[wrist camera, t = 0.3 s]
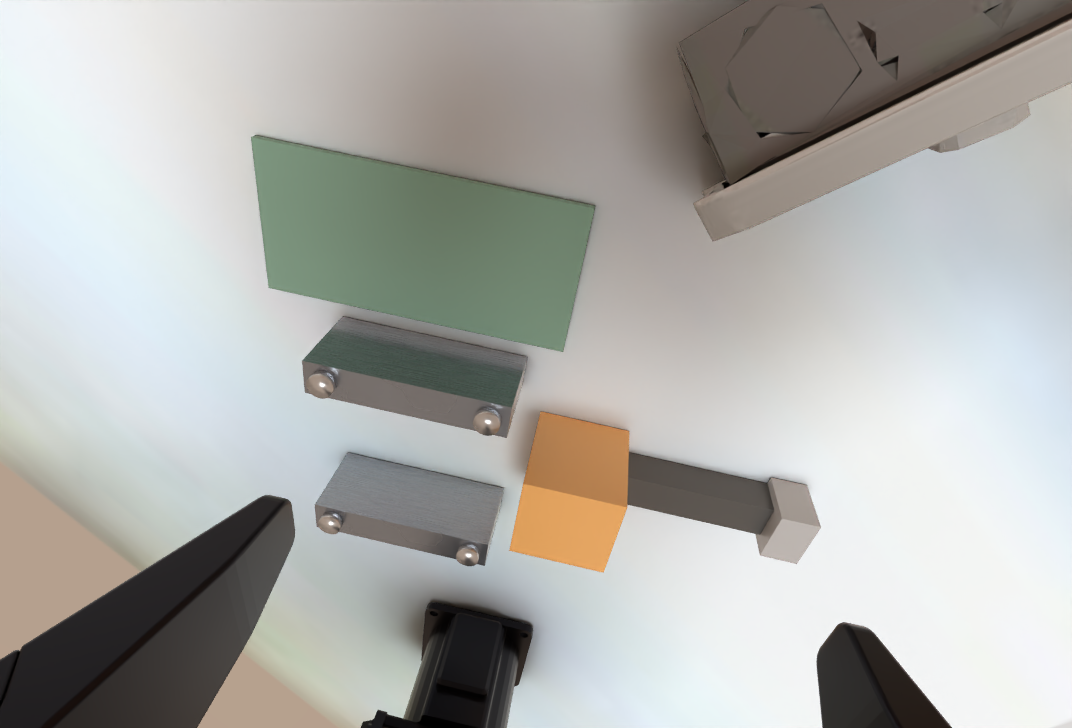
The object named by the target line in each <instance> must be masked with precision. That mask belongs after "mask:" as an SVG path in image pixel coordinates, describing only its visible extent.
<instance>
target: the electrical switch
mask: <svg viewBox="0 0 1072 728" xmlns="http://www.w3.org/2000/svg"><path fill="white" fill-rule="evenodd" d="M808 7H811V8H808ZM746 28H748V29H747V31H746V33H745V35H744V37H743V34H744V30H745V29H746ZM870 36H871V39H870V44H868V41H869V38H870ZM679 44H680V46H681V49H682V52H683V54H684V57H685V59H686V62H687V64H688V67H689V70H690V71H689V70H688V68H687V66H686V64H685V62H684V60H683V58H682V57H681V55H680V53H679V51H678V49H677V51H678V55H679V58H680V62H681V65H682V69H683V72H684V75H685V79H686V81H687V84H688V87H689V89H690V92H691V95H692V98H693V102H694V105H695V107H696V110H697V112H698V115H699V117H700V119H701V122H702V124H703V127H704V129H705V132H706V133H705V134H704V135H703V137H704V139H705V140H706V141H707V142H708V143H709V145H710V146H711V148H712V150H713V152H714V154H715V156H716V159H717V161H718V163H719V165H720V168H721V170H722V172H723V175H724V177H725V180H723V181H721V182H719V183H717V184H715V185H713V186H712V187H710V188H708V189H706V190H704V191H702V195H704V198H702V199H700V200H699V201H697V202H695V203H693V204H694V207H695V209H696V211H697V213H698V215H699V217H700V219H701V220H702V222H703V224H704V226H705V228H706V230H707V232H708V234H709V235H710V237H711V239H712V241H715V240H718V239H721V238H724V237H727V236H730V235H733V234H735V233H738V232H741V231H744V230H747V229H749V228H752V227H754V226H756V225H759V224H761V223H763V222H765V221H767V220H770V219H772V218H774V217H776V216H778V215H781V214H783V213H785V212H787V211H790V210H792V209H794V208H796V207H798V206H801V205H803V204H805V203H807V202H809V201H812V200H814V199H816V198H818V197H820V196H823V195H825V194H827V193H829V192H831V191H834V190H836V189H838V188H840V187H843V186H845V185H847V184H849V183H851V182H854V181H856V180H858V179H860V178H862V177H865V176H867V175H869V174H871V173H873V172H876V171H878V170H880V169H882V168H885V167H887V166H889V165H891V164H893V163H896V162H898V161H900V160H902V159H904V158H907V157H909V156H911V155H913V154H915V153H918V152H920V151H922V150H924V149H927V148H929V149H931V150H934V151H937V152H939V153H942V152H948V151H953V150H959V149H961V148H964V147H966V146H969V145H971V144H974V143H976V142H979V141H981V140H984V139H986V138H989V137H991V136H993V135H996V134H998V133H1001V132H1003V131H1006V130H1008V129H1011V128H1013V127H1015V126H1016V125H1017V124H1019V123H1020V122H1021V121H1023V120H1024V119H1025V118H1027V117H1028V116H1029V115H1030V110H1029V106H1028V102H1030V101H1033V100H1035V99H1037V98H1039V97H1041V96H1044V95H1046V94H1048V93H1050V92H1052V91H1055V90H1057V89H1059V88H1061V87H1063V86H1066V85H1068V84H1070V83H1072V0H748V1H747V2H745V3H743V4H742V5H740V6H738V7H737V8H735V9H734V10H732V11H730V12H729V13H727V14H725V15H724V16H722V17H720V18H719V19H717V20H715V21H714V22H712V23H711V24H709V25H707V26H706V27H704V28H702V29H701V30H699V31H697V32H696V33H694V34H692V35H691V36H689V37H688V38H686V39H684V40H683V41H681V42H679ZM869 45H870V46H869ZM870 47H871V48H872V49H870ZM676 48H677V47H676ZM690 72H691V73H690ZM691 75H692V76H691ZM692 77H693V78H692Z"/></svg>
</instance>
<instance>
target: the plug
mask: <svg viewBox="0 0 1072 728" xmlns="http://www.w3.org/2000/svg"><path fill="white" fill-rule="evenodd" d="M627 504H628V505H632V506H636V507H641V508H645V509H649V510H654V511H658V512H663V513H667V514H671V515H676V516H680V517H684V518H689V519H693V520H698V521H702V522H706V523H711V524H715V525H719V526H724V527H728V528H733V529H737V530H741V531H746V532H750V533H754V534H756V539H757V544H758V548H759V553H760V556H765V557H769V558H774V559H778V560H782V561H787V562H791V563H795V564H797V563H798V561H799V560H800V558H801V557H802V555H803V554H804V552H805V551H806V549H807V548H808V546H809V545H810V543H811V542H812V540H813V539H814V537H815V536H816V534H817V533H818V531H819V530H820V528H821V526H820V523H819V520H818V517H817V514H816V511H815V508H814V505H813V502H812V499H811V496H810V493H809V490H808V487H807V485H803V484H799V483H794V482H790V481H785V480H781V479H776V478H772V477H771V478H770V480H769V482H768V484H767V483H763V482H758V481H754V480H749V479H745V478H741V477H736V476H732V475H727V474H723V473H718V472H714V471H709V470H705V469H701V468H696V467H692V466H687V465H683V464H678V463H674V462H669V461H665V460H661V459H656V458H652V457H647V456H643V455H638V454H634V453H629V431H627V430H622V429H618V428H613V427H609V426H604V425H600V424H595V423H591V422H586V421H582V420H577V419H573V418H568V417H564V416H559V415H555V414H550V413H546V412H540V416H539V420H538V424H537V429H536V433H535V437H534V441H533V445H532V449H531V454H530V458H529V462H528V466H527V470H526V474H525V479H524V483H523V487H522V492H521V497H520V502H519V507H518V512H517V516H516V521H515V526H514V531H513V536H512V541H511V546H510V550H509V551H514V552H518V553H522V554H526V555H531V556H535V557H539V558H543V559H548V560H552V561H556V562H561V563H565V564H569V565H573V566H578V567H582V568H586V569H591V570H595V571H599V572H603V573H604V570H605V567H606V564H607V562H608V559H609V556H610V553H611V551H612V548H613V545H614V542H615V540H616V537H617V534H618V531H619V529H620V526H621V523H622V520H623V518H624V515H625V512H626V509H627Z"/></svg>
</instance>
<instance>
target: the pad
mask: <svg viewBox="0 0 1072 728" xmlns="http://www.w3.org/2000/svg"><path fill="white" fill-rule="evenodd" d="M251 141H252V150H253V158H254V167H255V175H256V184H257V192H258V201H259V209H260V218H261V226H262V234H263V243H264V251H265V260H266V268H267V277H268V285H269V288H272V289H276V290H281V291H286V292H290V293H295V294H299V295H304V296H309V297H313V298H318V299H322V300H327V301H332V302H336V303H341V304H345V305H350V306H355V307H359V308H364V309H368V310H373V311H377V312H382V313H387V314H391V315H396V316H400V317H405V318H410V319H414V320H419V321H423V322H428V323H433V324H437V325H442V326H446V327H451V328H456V329H460V330H465V331H469V332H474V333H479V334H483V335H488V336H492V337H497V338H501V339H506V340H511V341H515V342H520V343H524V344H529V345H534V346H538V347H543V348H547V349H552V350H557V351H561V352H563V350H564V345H565V341H566V336H567V332H568V327H569V323H570V318H571V314H572V309H573V305H574V300H575V296H576V291H577V287H578V282H579V278H580V273H581V269H582V264H583V260H584V255H585V251H586V246H587V242H588V237H589V233H590V228H591V223H592V219H593V214H594V210H595V206H594V205H590V204H585V203H580V202H575V201H570V200H565V199H561V198H556V197H551V196H546V195H541V194H536V193H532V192H527V191H522V190H517V189H512V188H508V187H503V186H498V185H493V184H488V183H483V182H479V181H474V180H469V179H464V178H459V177H454V176H450V175H445V174H440V173H435V172H430V171H426V170H421V169H416V168H411V167H406V166H401V165H397V164H392V163H387V162H382V161H377V160H372V159H368V158H363V157H358V156H353V155H348V154H344V153H339V152H334V151H329V150H324V149H319V148H315V147H310V146H305V145H300V144H295V143H291V142H286V141H281V140H276V139H271V138H266V137H262V136H257V135H255V136H253V137H251Z"/></svg>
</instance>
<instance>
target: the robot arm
mask: <svg viewBox="0 0 1072 728" xmlns="http://www.w3.org/2000/svg"><path fill="white" fill-rule="evenodd" d="M294 538H295V527H294V519H293V512H292V505H291V502H290V501H289V500H288V499H285V498H281V497H276V496H272V495H265V496H262V497H260V498H258V499H256V500H255V501H253V502H252V503H250V504H248V505H247V506H245V507H244V508H242V509H240V510H239V511H237V512H236V513H234V514H232V515H231V516H229V517H228V518H226V519H224V520H223V521H221V522H220V523H218V524H216V525H215V526H213V527H212V528H210V529H208V530H207V531H205V532H204V533H202V534H200V535H199V536H197V537H196V538H194V539H193V540H191V541H189V542H188V543H186V544H185V545H183V546H181V547H180V548H178V549H177V550H175V551H173V552H172V553H170V554H169V555H167V556H165V557H164V558H162V559H161V560H159V561H157V562H156V563H154V564H153V565H151V566H149V567H148V568H146V569H145V570H143V571H141V572H140V573H138V574H137V575H135V576H133V577H132V578H130V579H129V580H127V581H125V582H124V583H122V584H121V585H119V586H117V587H116V588H114V589H113V590H111V591H109V592H108V593H106V594H105V595H103V596H101V597H100V598H98V599H97V600H95V601H93V602H92V603H90V604H89V605H87V606H86V607H84V608H82V609H81V610H79V611H78V612H76V613H74V614H73V615H71V616H70V617H68V618H66V619H65V620H63V621H62V622H60V623H58V624H57V625H55V626H54V627H52V628H50V629H49V630H47V631H46V632H44V633H42V634H41V635H39V636H38V637H36V638H34V639H33V640H31V641H30V642H28V643H26V644H25V645H24V646H22V648H21V650H20V651H19V650H15V651H13V652H12V653H10V654H8V655H7V656H5V657H4V658H2V659H0V728H197V727H198V725H199V723H200V722H201V720H202V718H203V716H204V715H205V713H206V712H207V710H208V708H209V706H210V705H211V703H212V701H213V700H214V698H215V696H216V694H217V693H218V691H219V689H220V688H221V686H222V684H223V683H224V681H225V679H226V677H227V676H228V674H229V672H230V670H231V669H232V667H233V665H234V664H235V662H236V660H237V659H238V657H239V655H240V654H241V652H242V650H243V648H244V647H245V645H246V643H247V641H248V639H249V638H250V636H251V634H252V632H253V630H254V628H255V626H256V624H257V622H258V620H259V617H260V615H261V613H262V611H263V609H264V607H265V604H266V602H267V600H268V598H269V596H270V593H271V591H272V589H273V587H274V585H275V582H276V580H277V578H278V576H279V574H280V571H281V569H282V567H283V565H284V563H285V560H286V558H287V556H288V554H289V552H290V549H291V547H292V545H293V542H294ZM532 634H533V628H532V627H531V626H530V625H527V624H523V623H519V622H515V621H511V620H506V619H502V618H498V617H494V616H490V615H485V614H481V613H477V612H473V611H468V610H464V609H460V608H456V607H452V606H447V605H443V604H439V603H429V604H428V606H427V609H426V612H425V624H424V635H423V647H422V659H421V661H422V663H421V666H420V669H419V672H418V675H417V678H416V681H415V684H414V687H413V690H412V693H411V696H410V700H409V703H408V706H407V709H406V712H405V715H404V718H403V719H402V718H399V717H395V716H392V715H388V714H387V712H385V711H381V710H378V711H377V713H376V716H375V718H374V719H373V720H370V721H365V722H363V723H362V726H361V728H507V723H508V718H509V712H510V707H511V701H512V695H513V690H514V686H517V685H518V684H519V682H520V678H521V675H522V671H523V668H524V664H525V661H526V657H527V653H528V650H529V646H530V643H531V639H532ZM817 674H818V684H819V695H820V705H821V716H822V727H823V728H952V727H951V726H950V725H949V723H948V722H947V721H946V720H945V719H944V717H943V716H942V715H941V714H940V713H939V711H938V710H937V709H936V708H935V706H934V705H933V704H932V703H931V702H930V700H929V699H928V698H927V697H926V696H925V694H924V693H923V692H922V691H921V689H920V688H919V687H918V686H917V685H916V683H915V682H914V681H913V680H912V678H911V677H910V676H909V675H908V674H907V672H906V671H905V670H904V669H903V668H902V666H901V665H900V664H899V663H898V661H897V660H896V659H895V658H894V657H893V655H892V654H891V653H890V652H889V651H888V649H887V648H886V647H885V646H884V644H883V643H882V642H881V641H880V640H879V638H878V637H877V636H876V635H875V634H874V633H873V632H872V631H871V630H870V629H868V628H867V627H864V626H860V625H855V624H851V623H846V622H843V623H840V624H838V625H837V626H836V628H835V629H834V630H833V632H832V633H831V634H830V636H829V637H828V638H827V639H826V641H825V642H824V643H823V645H822V646H821V647H820V649H819V652H818V655H817Z"/></svg>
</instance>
